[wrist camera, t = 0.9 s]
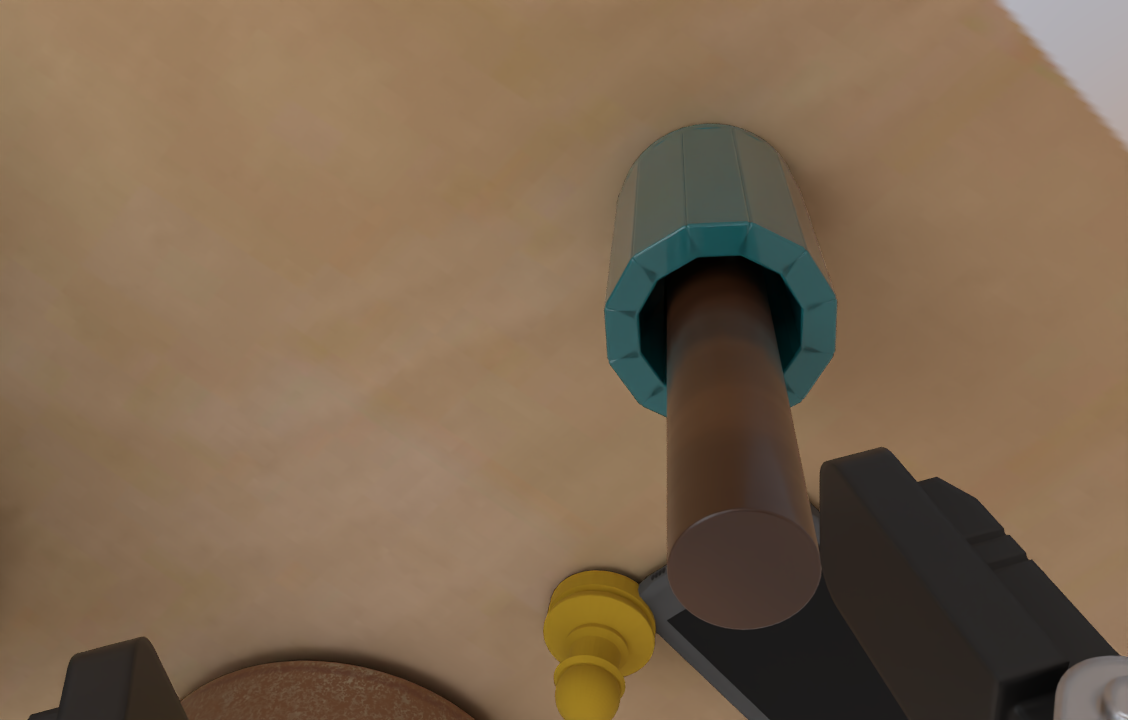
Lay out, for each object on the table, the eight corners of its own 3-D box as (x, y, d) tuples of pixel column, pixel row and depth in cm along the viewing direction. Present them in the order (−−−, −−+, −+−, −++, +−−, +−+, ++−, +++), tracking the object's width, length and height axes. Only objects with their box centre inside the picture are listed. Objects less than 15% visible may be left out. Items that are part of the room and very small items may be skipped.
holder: (670, 91, 30) (672, 183, 23) (832, 172, 30) (882, 286, 23) (589, 246, 32) (567, 373, 25) (741, 318, 33) (761, 462, 26)
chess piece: (655, 658, 39) (641, 771, 35) (549, 644, 40) (523, 753, 35) (661, 577, 37) (647, 685, 33) (549, 563, 38) (521, 668, 33)
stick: (691, 162, 30) (714, 486, 16) (766, 199, 30) (851, 548, 16) (652, 233, 31) (640, 594, 17) (724, 268, 32) (771, 651, 17)
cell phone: (793, 481, 35) (795, 494, 35) (1019, 727, 39) (1026, 743, 39) (623, 588, 38) (622, 602, 37) (852, 807, 42) (855, 823, 41)
